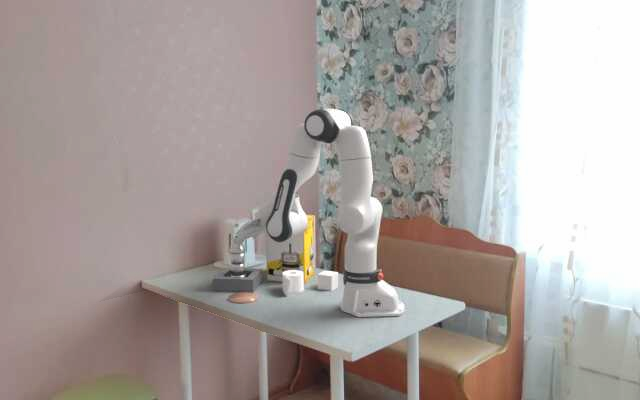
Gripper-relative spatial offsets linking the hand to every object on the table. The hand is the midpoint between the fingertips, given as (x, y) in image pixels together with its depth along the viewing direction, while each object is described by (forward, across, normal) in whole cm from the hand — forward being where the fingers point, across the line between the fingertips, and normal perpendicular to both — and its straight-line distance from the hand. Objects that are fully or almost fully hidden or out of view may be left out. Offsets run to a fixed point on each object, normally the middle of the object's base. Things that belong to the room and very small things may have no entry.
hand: (246, 239), depth 223 cm
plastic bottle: (+17, 0, -11) cm, 20 cm away
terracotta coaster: (+8, -12, -18) cm, 24 cm away
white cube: (-7, +14, -34) cm, 37 cm away
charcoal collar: (+17, 0, -11) cm, 20 cm away
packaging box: (+9, +21, -19) cm, 30 cm away
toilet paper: (+1, +3, -26) cm, 27 cm away
